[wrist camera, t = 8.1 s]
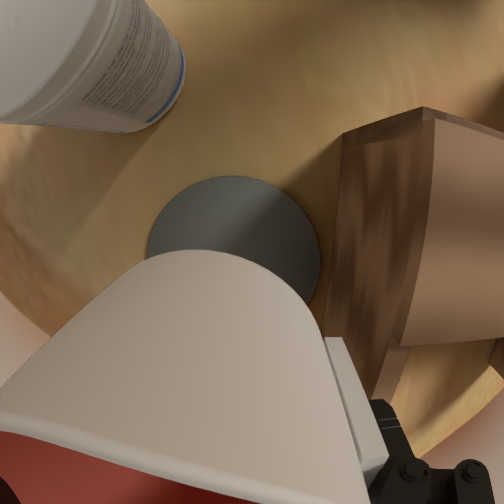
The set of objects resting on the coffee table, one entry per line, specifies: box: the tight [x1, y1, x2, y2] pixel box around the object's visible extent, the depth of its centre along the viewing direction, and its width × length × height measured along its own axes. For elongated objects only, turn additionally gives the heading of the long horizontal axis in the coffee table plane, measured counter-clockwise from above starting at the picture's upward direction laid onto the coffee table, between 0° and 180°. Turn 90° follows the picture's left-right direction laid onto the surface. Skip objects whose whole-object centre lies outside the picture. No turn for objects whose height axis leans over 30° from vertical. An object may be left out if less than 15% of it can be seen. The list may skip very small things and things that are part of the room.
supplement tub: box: [0, 0, 186, 134], centre depth 14 cm, size 10×10×15 cm
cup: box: [0, 250, 370, 504], centre depth 9 cm, size 10×10×10 cm
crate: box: [321, 107, 504, 405], centre depth 18 cm, size 22×24×14 cm
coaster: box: [148, 176, 320, 306], centre depth 25 cm, size 14×14×1 cm
